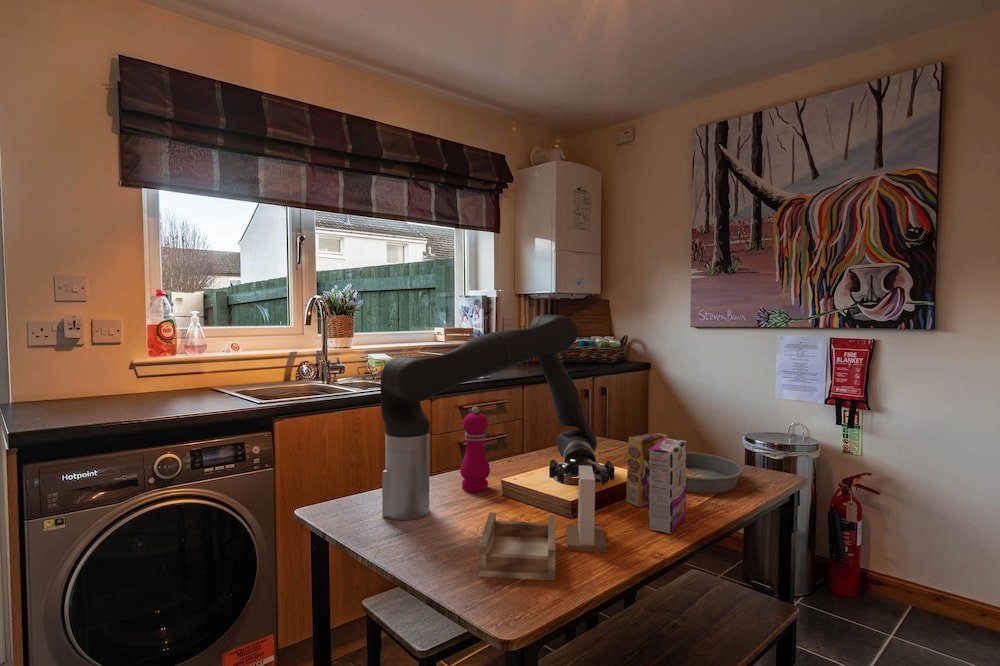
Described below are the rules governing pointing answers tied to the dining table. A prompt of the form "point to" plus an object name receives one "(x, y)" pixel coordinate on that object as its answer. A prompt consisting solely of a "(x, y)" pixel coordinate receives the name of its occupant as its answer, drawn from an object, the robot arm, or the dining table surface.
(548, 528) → the brown wooden tray
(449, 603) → the dining table surface
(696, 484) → the cake pan
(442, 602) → the dining table surface
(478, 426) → the pepper mill
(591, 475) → the place card sign
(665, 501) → the candy bar box
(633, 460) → the candy box
